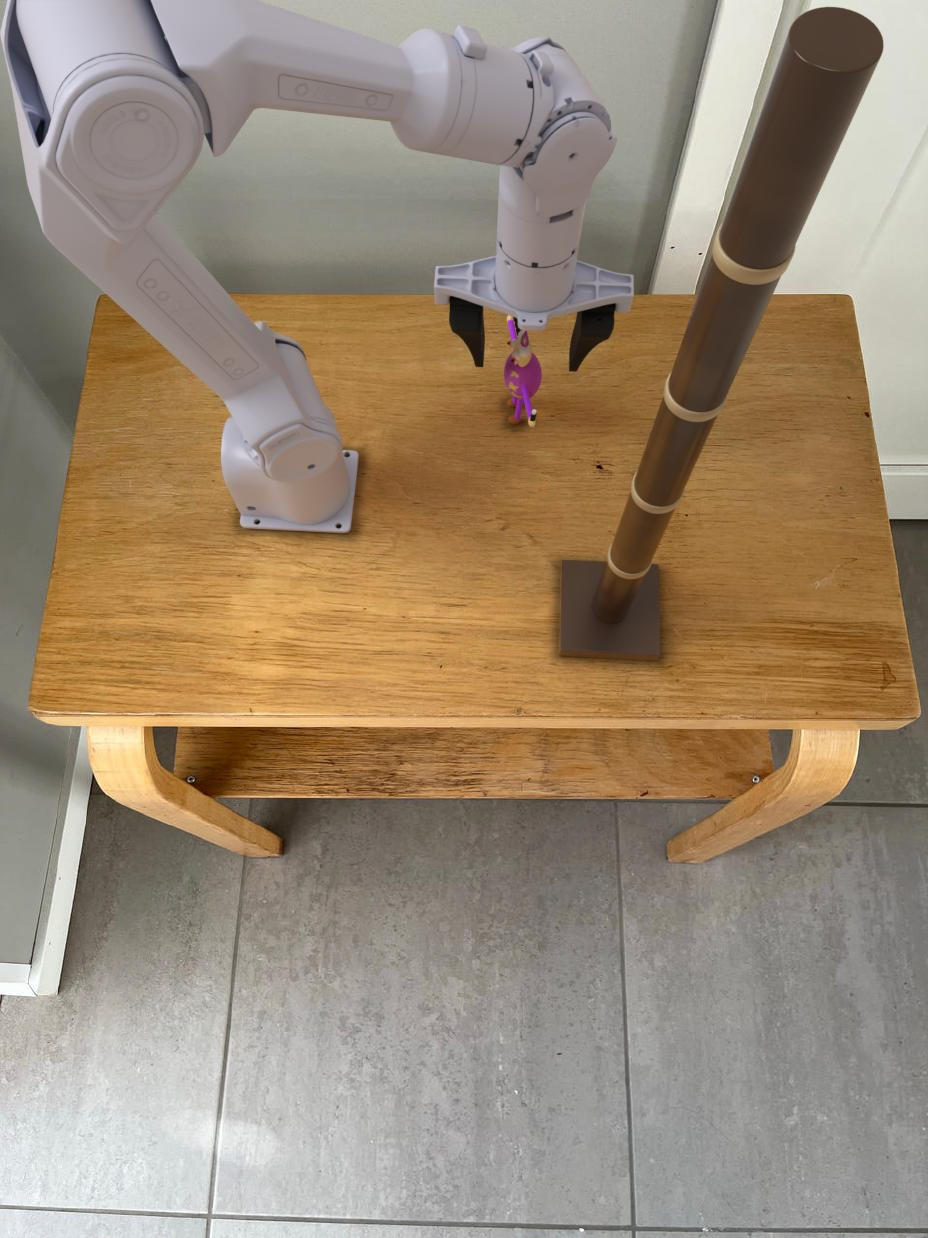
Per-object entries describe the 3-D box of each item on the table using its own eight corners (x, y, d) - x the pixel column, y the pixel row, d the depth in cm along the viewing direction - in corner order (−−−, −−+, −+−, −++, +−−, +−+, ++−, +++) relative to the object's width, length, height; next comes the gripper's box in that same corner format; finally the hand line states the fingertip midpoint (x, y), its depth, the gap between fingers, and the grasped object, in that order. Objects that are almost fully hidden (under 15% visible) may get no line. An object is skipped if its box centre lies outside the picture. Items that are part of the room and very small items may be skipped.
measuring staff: (558, 656, 74) (716, 125, 28) (560, 566, 77) (705, -51, 31) (657, 661, 74) (982, 136, 28) (655, 571, 77) (947, -43, 30)
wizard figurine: (491, 364, 85) (495, 271, 73) (525, 360, 85) (534, 266, 74) (512, 469, 81) (520, 388, 69) (547, 464, 81) (561, 382, 70)
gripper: (428, 277, 61) (435, 396, 74) (645, 286, 61) (614, 404, 74) (435, 196, 64) (441, 324, 76) (644, 205, 63) (614, 332, 76)
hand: (526, 359), depth 75 cm, fingers open, 7 cm apart
